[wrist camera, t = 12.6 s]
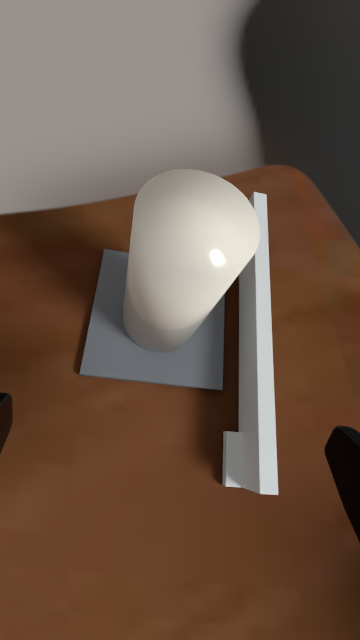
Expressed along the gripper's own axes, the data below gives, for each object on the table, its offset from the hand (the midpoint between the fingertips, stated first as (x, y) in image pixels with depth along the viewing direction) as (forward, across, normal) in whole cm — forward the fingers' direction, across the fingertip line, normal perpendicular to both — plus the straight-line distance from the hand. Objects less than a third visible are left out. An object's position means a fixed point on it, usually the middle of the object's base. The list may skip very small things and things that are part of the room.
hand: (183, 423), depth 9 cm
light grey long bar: (+13, -6, +2) cm, 15 cm away
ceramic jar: (+13, 0, +2) cm, 13 cm away
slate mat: (+13, 0, +2) cm, 13 cm away
